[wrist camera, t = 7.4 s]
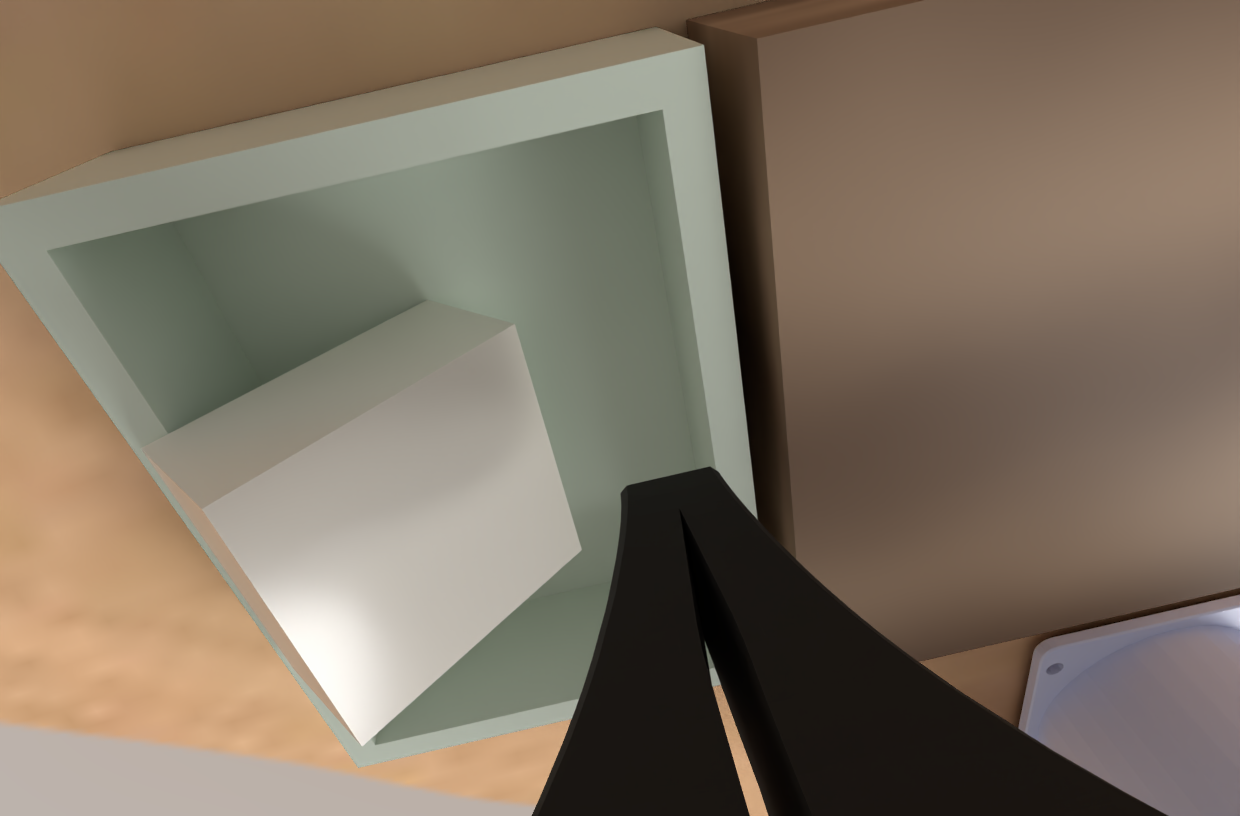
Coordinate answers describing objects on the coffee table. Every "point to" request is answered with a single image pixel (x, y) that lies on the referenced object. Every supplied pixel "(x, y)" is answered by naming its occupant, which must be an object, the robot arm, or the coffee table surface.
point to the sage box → (429, 270)
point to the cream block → (381, 504)
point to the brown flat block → (987, 302)
